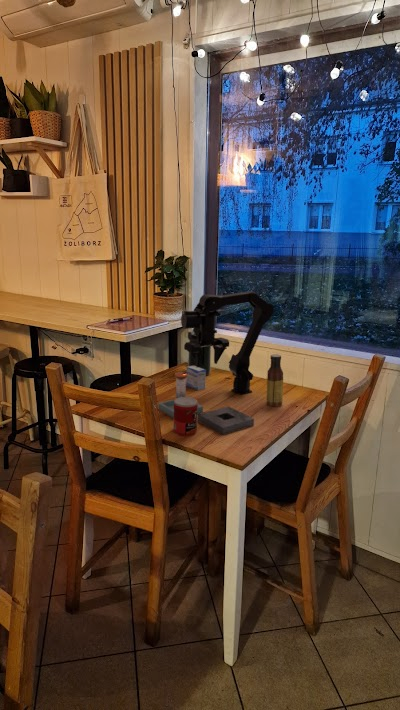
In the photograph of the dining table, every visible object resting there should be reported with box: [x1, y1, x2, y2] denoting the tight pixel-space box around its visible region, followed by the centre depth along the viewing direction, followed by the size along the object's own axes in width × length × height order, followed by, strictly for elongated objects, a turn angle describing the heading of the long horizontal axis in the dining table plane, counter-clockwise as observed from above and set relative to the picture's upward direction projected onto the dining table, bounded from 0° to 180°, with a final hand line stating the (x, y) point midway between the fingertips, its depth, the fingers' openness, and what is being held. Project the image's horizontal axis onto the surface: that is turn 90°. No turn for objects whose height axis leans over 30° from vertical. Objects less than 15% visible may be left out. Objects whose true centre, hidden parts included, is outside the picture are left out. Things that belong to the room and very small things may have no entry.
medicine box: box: [186, 366, 207, 391], centre depth 204 cm, size 8×4×9 cm, turn 42°
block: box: [197, 405, 255, 435], centre depth 168 cm, size 14×14×2 cm
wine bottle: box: [187, 309, 212, 376], centre depth 219 cm, size 10×10×33 cm
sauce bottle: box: [266, 353, 284, 407], centre depth 185 cm, size 6×6×20 cm
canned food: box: [173, 396, 199, 437], centre depth 159 cm, size 8×8×11 cm
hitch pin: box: [174, 371, 187, 399], centre depth 176 cm, size 5×5×14 cm
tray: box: [157, 398, 204, 419], centre depth 177 cm, size 12×12×2 cm
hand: (206, 365), depth 191 cm, fingers open, 9 cm apart
